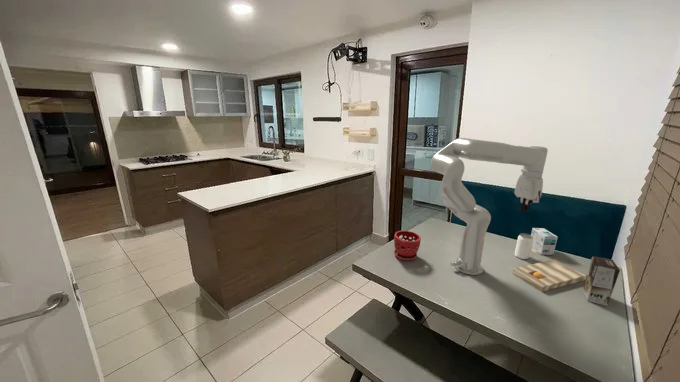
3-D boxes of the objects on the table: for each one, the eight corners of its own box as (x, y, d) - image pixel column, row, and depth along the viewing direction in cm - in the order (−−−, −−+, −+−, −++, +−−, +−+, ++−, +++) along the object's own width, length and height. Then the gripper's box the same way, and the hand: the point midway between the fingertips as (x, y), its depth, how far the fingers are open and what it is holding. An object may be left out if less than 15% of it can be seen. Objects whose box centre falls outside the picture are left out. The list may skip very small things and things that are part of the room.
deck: (541, 291, 113) (543, 286, 112) (512, 273, 125) (513, 268, 125) (584, 280, 120) (585, 275, 119) (552, 263, 133) (553, 259, 132)
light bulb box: (553, 255, 141) (558, 236, 138) (540, 255, 141) (545, 236, 138) (540, 245, 151) (544, 227, 148) (527, 245, 151) (531, 227, 148)
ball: (538, 274, 118) (545, 274, 118) (531, 270, 121) (538, 270, 122) (537, 282, 118) (544, 281, 119) (530, 278, 122) (536, 277, 123)
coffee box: (608, 306, 104) (620, 270, 99) (586, 300, 107) (597, 265, 103) (602, 293, 111) (613, 259, 107) (581, 288, 115) (592, 255, 110)
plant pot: (408, 265, 132) (410, 244, 128) (388, 255, 142) (389, 234, 138) (424, 257, 140) (426, 236, 136) (403, 247, 149) (405, 227, 146)
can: (532, 259, 137) (537, 238, 133) (519, 259, 137) (523, 238, 133) (523, 253, 143) (528, 232, 139) (511, 253, 143) (515, 232, 139)
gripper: (511, 170, 128) (504, 207, 133) (542, 178, 114) (533, 218, 120) (523, 169, 130) (516, 205, 135) (555, 177, 116) (545, 216, 122)
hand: (524, 211), depth 127 cm, fingers closed
